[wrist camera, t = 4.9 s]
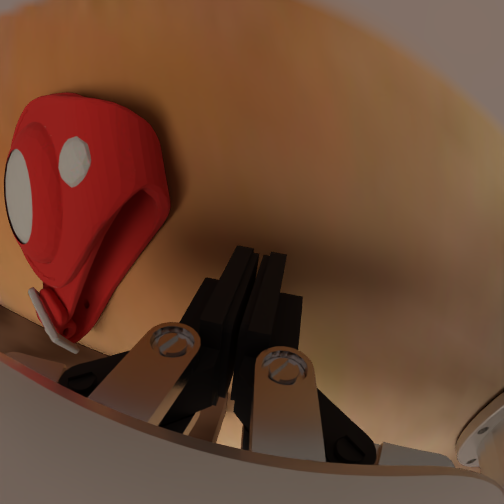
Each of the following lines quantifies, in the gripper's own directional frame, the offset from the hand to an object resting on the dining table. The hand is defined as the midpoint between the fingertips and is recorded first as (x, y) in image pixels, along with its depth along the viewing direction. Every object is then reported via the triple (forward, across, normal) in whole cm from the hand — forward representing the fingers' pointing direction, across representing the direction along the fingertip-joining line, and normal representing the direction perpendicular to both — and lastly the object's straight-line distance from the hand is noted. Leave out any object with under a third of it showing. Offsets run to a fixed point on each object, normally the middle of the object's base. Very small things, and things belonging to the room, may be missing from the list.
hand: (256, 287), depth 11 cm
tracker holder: (+2, +9, -1) cm, 9 cm away
